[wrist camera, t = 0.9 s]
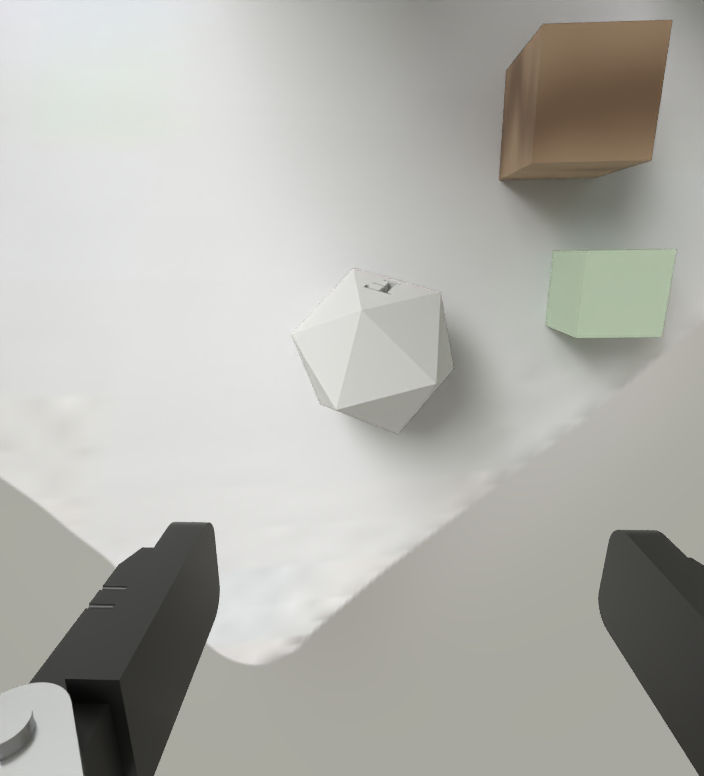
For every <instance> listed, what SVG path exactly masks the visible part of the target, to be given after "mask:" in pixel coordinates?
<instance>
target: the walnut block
mask: <svg viewBox="0 0 704 776" xmlns="http://www.w3.org/2000/svg"><path fill="white" fill-rule="evenodd" d="M671 26H672V20H650V21H619V22H588V23H557V24H543V25H542V26H541V27H540V29H539V30H538V31H537V32H536V34H535V35H534V36H533V37H532V39H531V40H530V41H529V42H528V44H527V45H526V46H525V47H524V49H523V50H522V51H521V53H520V54H519V55H518V56H517V58H516V59H515V60H514V61H513V63H512V64H511V65H510V66H509V68H508V69H507V70H506V82H505V97H504V113H503V128H502V143H501V158H500V173H499V180H519V179H563V178H596V177H599V176H603V175H606V174H609V173H612V172H615V171H619V170H622V169H625V168H628V167H631V166H635V165H638V164H641V163H644V162H647V161H651V160H652V153H653V146H654V140H655V133H656V126H657V120H658V113H659V106H660V100H661V93H662V86H663V80H664V73H665V66H666V60H667V53H668V46H669V40H670V33H671Z"/></svg>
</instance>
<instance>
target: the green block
mask: <svg viewBox="0 0 704 776" xmlns="http://www.w3.org/2000/svg"><path fill="white" fill-rule="evenodd" d="M676 251H677V249H627V250H574V251H553V256H552V266H551V276H550V286H549V296H548V306H547V316H546V326H548V327H550V328H553V329H555V330H558V331H560V332H563V333H565V334H567V335H570V336H572V337H575V338H627V337H662V333H663V327H664V321H665V315H666V310H667V304H668V298H669V292H670V286H671V280H672V275H673V269H674V263H675V257H676Z"/></svg>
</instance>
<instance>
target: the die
mask: <svg viewBox="0 0 704 776" xmlns="http://www.w3.org/2000/svg"><path fill="white" fill-rule="evenodd" d="M291 335H292V338H293V340H294V343H295V345H296V347H297V350H298V352H299V355H300V357H301V360H302V362H303V364H304V367H305V369H306V372H307V374H308V376H309V379H310V381H311V384H312V386H313V389H314V391H315V393H316V396H317V398H318V401H319V403H320V404H321V405H323V406H326V407H329V408H331V409H334V410H336V411H339V412H342V413H344V414H347V415H349V416H352V417H355V418H357V419H360V420H362V421H365V422H368V423H370V424H373V425H376V426H378V427H381V428H383V429H386V430H389V431H391V432H394V433H396V434H399V432H400V431H401V430H402V429H403V428H404V427H405V425H406V424H407V423H408V422H409V421H410V419H411V418H412V417H413V416H414V415H415V414H416V412H417V411H418V410H419V409H420V408H421V407H422V405H423V404H424V403H425V402H426V401H427V400H428V398H429V397H430V396H431V395H432V394H433V393H434V391H435V390H436V389H437V388H438V387H439V386H440V384H441V383H442V382H443V381H444V380H445V379H446V377H447V376H448V375H449V374H450V373H451V372H452V370H453V369H454V366H453V360H452V355H451V349H450V343H449V337H448V331H447V326H446V320H445V314H444V308H443V302H442V297H441V292H439V291H435V290H432V289H428V288H424V287H421V286H417V285H413V284H410V283H406V282H403V281H399V280H395V279H392V278H388V277H385V276H381V275H377V274H374V273H370V272H366V271H363V270H359V269H356V268H352V270H351V271H350V272H349V273H348V274H347V275H346V276H345V277H344V278H343V279H342V280H341V281H340V282H339V284H338V285H337V286H336V287H335V288H334V289H333V290H332V291H331V292H330V293H329V294H328V295H327V296H326V297H325V299H324V300H323V301H322V302H321V303H320V304H319V305H318V306H317V307H316V308H315V309H314V310H313V311H312V312H311V314H310V315H309V316H308V317H307V318H306V319H305V320H304V321H303V322H302V323H301V324H300V325H299V326H298V328H297V329H296V330H295V331H294V332H293V333H292V334H291Z"/></svg>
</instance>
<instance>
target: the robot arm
mask: <svg viewBox="0 0 704 776" xmlns="http://www.w3.org/2000/svg"><path fill="white" fill-rule="evenodd" d="M219 593H220V586H219V575H218V564H217V554H216V544H215V534H214V528H213V525H212V524H211V523H204V522H173V523H171V524H170V525H169V526H168V528H167V529H166V531H165V532H164V534H163V535H162V537H161V538H160V539H159V541H158V542H157V544H156V545H155V547H154V548H141V549H140V550H138V551H137V552H136V553H134V554H133V555H132V556H130V557H129V558H127V559H126V560H125V561H123V562H122V563H121V564H119V565H118V566H117V568H116V569H115V570H114V572H113V573H112V574H111V576H110V577H109V578H108V580H107V581H106V582H105V584H104V585H103V589H102V590H99V592H98V593H97V594H96V596H95V597H94V598H93V600H92V601H91V602H90V603H89V608H88V609H85V610H84V612H83V613H82V614H81V615H80V617H79V618H78V619H77V621H76V622H75V623H74V625H73V626H72V627H71V629H70V630H69V631H68V633H67V634H66V635H65V637H64V638H63V639H62V641H61V642H60V643H59V644H58V646H57V647H56V648H55V650H54V651H53V652H52V654H51V655H50V656H49V658H48V659H47V660H46V662H45V663H44V664H43V666H42V667H41V668H40V670H39V671H38V672H37V674H36V675H35V676H34V678H33V679H32V680H31V682H30V683H29V684H26V685H22V686H19V687H15V688H13V689H10V690H8V691H5V692H3V693H1V694H0V776H154V774H155V771H156V769H157V766H158V763H159V761H160V759H161V756H162V753H163V751H164V748H165V746H166V743H167V740H168V738H169V735H170V733H171V730H172V728H173V725H174V723H175V720H176V718H177V715H178V712H179V710H180V707H181V705H182V702H183V700H184V697H185V695H186V692H187V689H188V687H189V684H190V682H191V679H192V677H193V674H194V671H195V669H196V666H197V664H198V661H199V659H200V656H201V654H202V651H203V648H204V646H205V643H206V641H207V638H208V636H209V633H210V631H211V628H212V625H213V623H214V620H215V617H216V614H217V609H218V604H219ZM598 600H599V610H600V614H601V618H602V620H603V623H604V625H605V627H606V629H607V631H608V632H609V634H610V635H611V637H612V639H613V640H614V642H615V643H616V645H617V647H618V648H619V650H620V651H621V653H622V654H623V656H624V658H625V659H626V661H627V662H628V664H629V665H630V667H631V669H632V670H633V672H634V673H635V675H636V676H637V678H638V680H639V681H640V683H641V684H642V686H643V688H644V689H645V691H646V692H647V694H648V695H649V697H650V698H651V700H652V702H653V703H654V705H655V706H656V708H657V710H658V711H659V713H660V714H661V716H662V718H663V719H664V721H665V722H666V724H667V725H668V727H669V729H670V730H671V732H672V733H673V735H674V737H675V738H676V740H677V741H678V743H679V744H680V746H681V748H682V749H683V750H684V752H685V754H686V755H687V757H688V758H689V760H690V762H691V763H692V765H693V766H694V768H695V770H696V771H697V773H698V774H699V776H704V565H702V564H701V563H699V562H697V561H696V560H694V559H692V558H688V557H686V556H685V555H684V554H683V553H682V552H681V551H680V550H679V549H678V548H677V547H676V546H675V545H674V544H673V543H672V542H671V541H670V540H669V539H668V538H667V537H666V536H665V535H664V534H662V533H661V532H659V531H654V530H652V531H651V530H616V531H614V532H613V533H612V534H611V536H610V539H609V544H608V548H607V554H606V559H605V564H604V569H603V574H602V579H601V584H600V589H599V597H598Z"/></svg>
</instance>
